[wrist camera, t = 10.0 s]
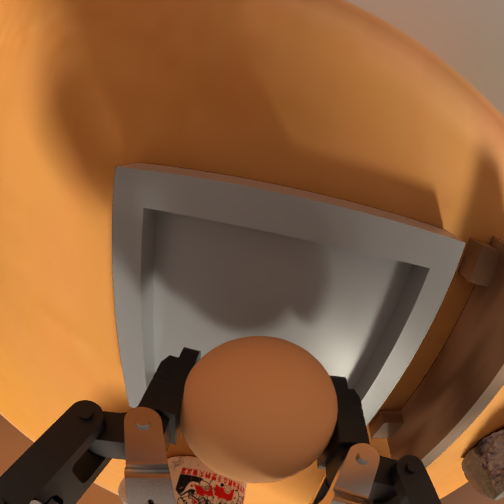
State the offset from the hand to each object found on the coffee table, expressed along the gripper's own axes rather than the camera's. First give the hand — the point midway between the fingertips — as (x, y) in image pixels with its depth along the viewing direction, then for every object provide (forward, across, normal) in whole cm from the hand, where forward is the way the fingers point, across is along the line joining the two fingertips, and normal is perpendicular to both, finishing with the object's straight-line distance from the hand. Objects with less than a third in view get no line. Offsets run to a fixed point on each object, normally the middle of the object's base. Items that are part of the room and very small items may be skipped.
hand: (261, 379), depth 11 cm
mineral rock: (+4, -34, +14) cm, 37 cm away
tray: (+3, 0, 0) cm, 3 cm away
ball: (-2, 0, 0) cm, 2 cm away
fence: (+3, -12, 0) cm, 12 cm away
